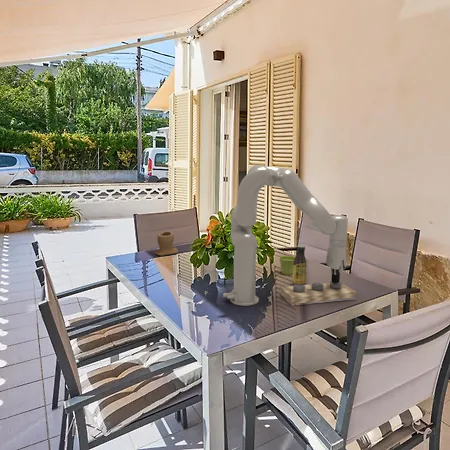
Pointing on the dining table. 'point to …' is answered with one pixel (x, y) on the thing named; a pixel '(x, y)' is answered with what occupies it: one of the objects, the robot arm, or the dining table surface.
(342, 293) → the knob mount
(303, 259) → the sauce bottle
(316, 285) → the middle knob
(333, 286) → the far knob
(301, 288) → the near knob
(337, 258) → the robot arm
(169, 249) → the stone cup
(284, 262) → the plant pot
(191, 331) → the dining table surface
